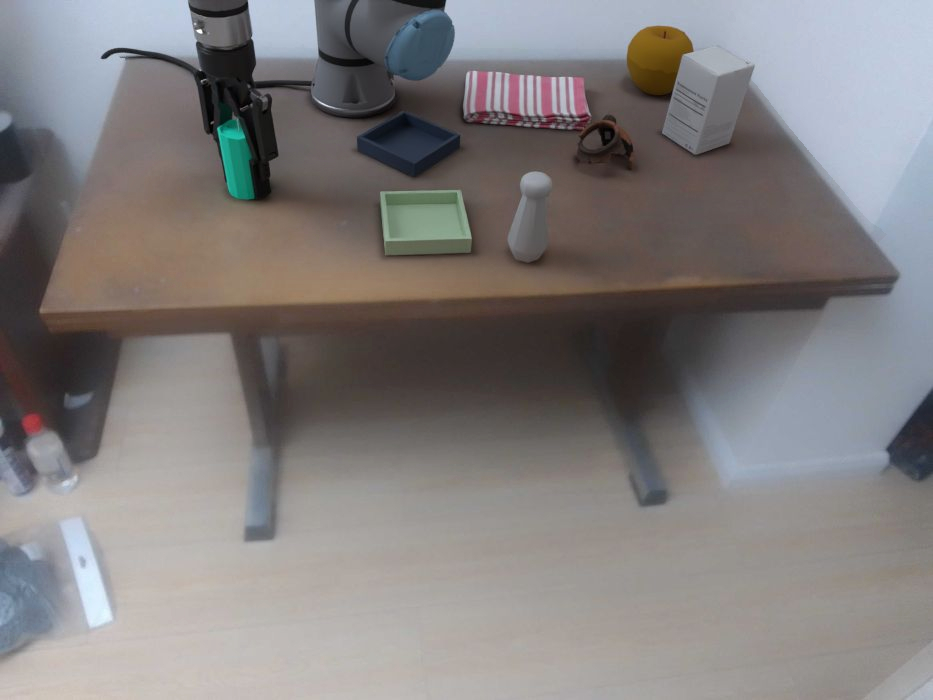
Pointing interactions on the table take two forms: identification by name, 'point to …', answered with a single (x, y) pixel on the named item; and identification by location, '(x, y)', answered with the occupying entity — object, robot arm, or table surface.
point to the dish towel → (525, 100)
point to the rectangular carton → (707, 99)
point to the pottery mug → (606, 142)
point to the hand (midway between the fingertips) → (248, 186)
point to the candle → (236, 159)
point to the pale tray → (424, 222)
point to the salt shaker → (531, 218)
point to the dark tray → (408, 143)
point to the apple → (657, 58)
